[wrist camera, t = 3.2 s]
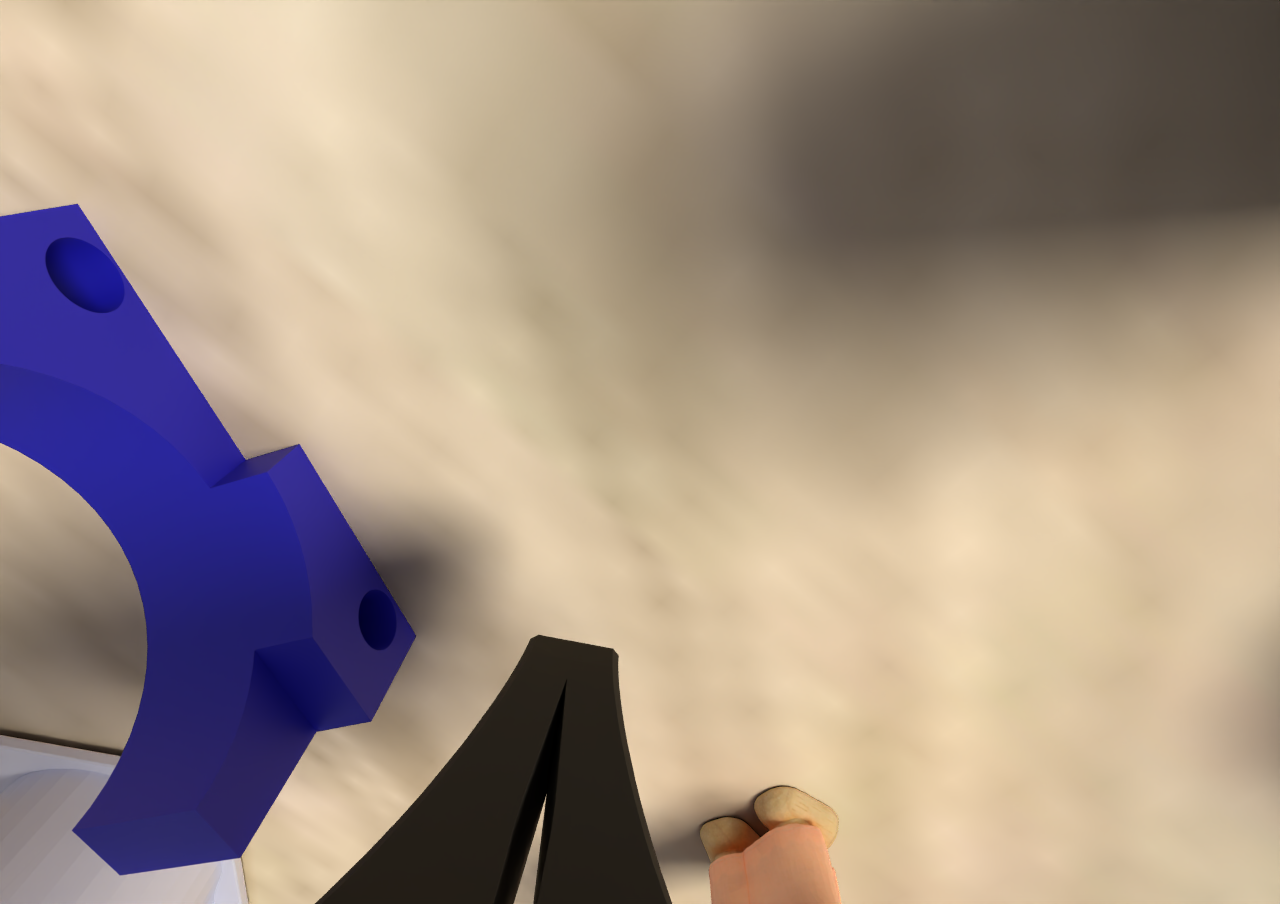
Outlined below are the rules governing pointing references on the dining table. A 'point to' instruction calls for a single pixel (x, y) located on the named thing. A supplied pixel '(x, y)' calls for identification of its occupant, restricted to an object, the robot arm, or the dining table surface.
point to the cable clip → (188, 556)
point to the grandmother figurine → (774, 853)
